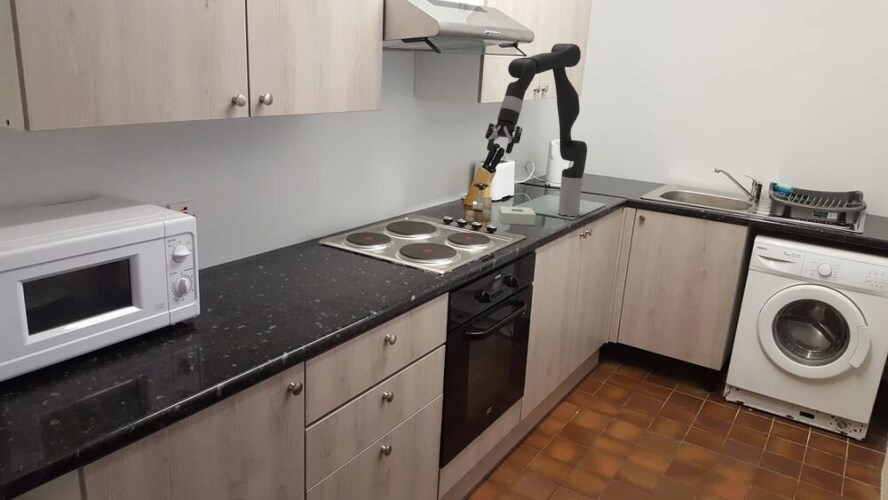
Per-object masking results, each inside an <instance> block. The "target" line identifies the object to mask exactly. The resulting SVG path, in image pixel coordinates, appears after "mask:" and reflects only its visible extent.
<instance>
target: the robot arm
mask: <svg viewBox="0 0 888 500" xmlns="http://www.w3.org/2000/svg"><path fill="white" fill-rule="evenodd" d="M581 55H582V54H581V49H580V46H578V45H577V44H575V43H555V44H554V45H553V46H552V48H551V50H550V52H542V53H538V54H534V55H532V56H527V57H519V58H515V59H512V60H511V61H510V63H509V64H508V67H507V72H508V74H509V76H510V77H511V78H514V79H517V80H516V81H511V82H509V83H508V85H507V88H506V90H505V94H504V97H503V100H502V103H501V105H500V109H499V113H498V116H497V123H496V124H493V123H491V122H490V123H489V124H488V127H487V130H486V133H485V139H487V140H488V142H487V146H486V149H487V151H488V152H492V151H493V148H494V145H495V141H496V140H498V139H499V138H500V137H501V138H507V140H508V143H507V145H506V149H505V153H506V155H507V154H508V155H510V154H511V153H512V151H513V148H514V146H515V144H520V141H521V137H522V133H523V128H522V127H520V126H519V125H517V124H518V121H519V118H520V115H521V111H522V107H523V101H524V99H525V94H526V91H527V90H528V88H529V87H530V85H531V83H532V81H533V80H534V78H535V75H538V74H541V73H545V72H548V71H552V73H553V78H554V85H555V94H556V106H557V114H558V124H559V156H560V158H561V159H562V160H563V161H567V162H572V166H570V167H568V168H564V169H562V170H561V177H560V178H561V179H560V180H561V181H560V189H559V199H558V200H559V201H558V209H557V210H558V212H557V214H558V213H559V214H561V215H560V216H562V215H567V216H566V217H571V216H574V217H578V215H580V207H581V197H582V187H583V177H584V172H585V168H586V163H587V155H588V145H587V143H586V142H585V141H583V140H577V139H575V140H574V139H572V128H573V126H574V124H575V122H576V120H577V119H578V117H579V115H580V111H581V110H580V109H581V108H580V97H579V94H578V92H577V90H576V88H575V86H574V85H573V84H572V82H571V81H570V80H569V77H568V75H567V71H566V68H573V67H576V66H577V65H578V64H579V62H580V60H581ZM559 214H558V215H559Z"/></svg>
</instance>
